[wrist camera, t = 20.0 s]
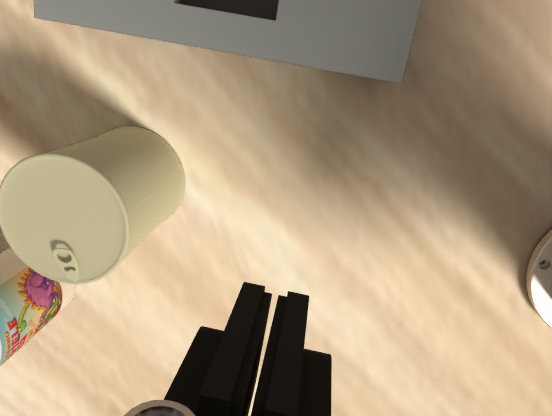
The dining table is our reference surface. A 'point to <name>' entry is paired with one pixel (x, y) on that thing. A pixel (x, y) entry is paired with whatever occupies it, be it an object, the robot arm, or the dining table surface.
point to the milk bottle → (26, 302)
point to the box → (264, 28)
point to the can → (89, 202)
